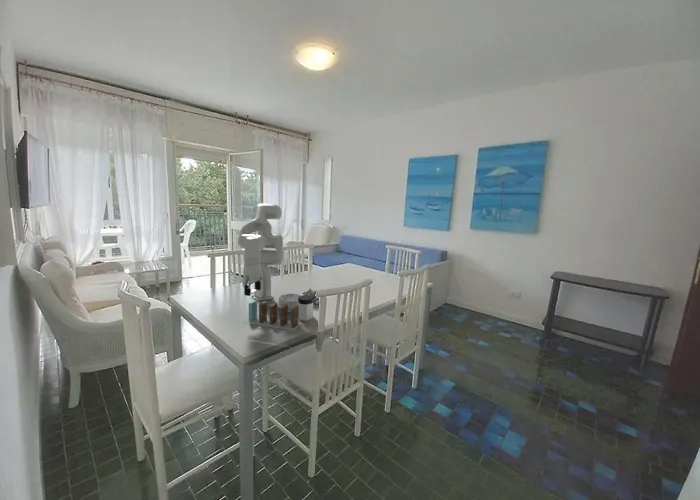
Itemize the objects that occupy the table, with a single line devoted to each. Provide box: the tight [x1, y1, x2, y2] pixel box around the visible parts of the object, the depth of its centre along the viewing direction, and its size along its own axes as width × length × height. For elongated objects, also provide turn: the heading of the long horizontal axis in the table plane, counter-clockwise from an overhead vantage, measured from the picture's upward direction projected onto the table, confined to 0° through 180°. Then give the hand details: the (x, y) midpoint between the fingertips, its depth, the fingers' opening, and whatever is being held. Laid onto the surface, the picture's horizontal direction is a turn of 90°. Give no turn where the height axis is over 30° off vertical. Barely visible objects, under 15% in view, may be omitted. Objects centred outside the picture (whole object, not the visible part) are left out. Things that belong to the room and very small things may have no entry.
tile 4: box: [279, 304, 289, 326], centre depth 149 cm, size 2×5×10 cm, turn 167°
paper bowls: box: [278, 293, 303, 313], centre depth 171 cm, size 15×15×8 cm
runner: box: [242, 315, 302, 331], centre depth 152 cm, size 29×10×1 cm, turn 77°
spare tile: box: [248, 299, 258, 321], centre depth 153 cm, size 2×5×10 cm, turn 167°
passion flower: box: [302, 288, 319, 306], centre depth 182 cm, size 11×11×12 cm
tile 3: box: [269, 302, 278, 325], centre depth 151 cm, size 2×5×10 cm, turn 167°
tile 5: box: [290, 306, 299, 328], centre depth 148 cm, size 2×5×10 cm, turn 167°
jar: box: [298, 294, 314, 322], centre depth 159 cm, size 9×8×12 cm
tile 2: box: [258, 300, 268, 323], centre depth 152 cm, size 2×5×10 cm, turn 167°
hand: (252, 292), depth 152 cm, fingers open, 9 cm apart
